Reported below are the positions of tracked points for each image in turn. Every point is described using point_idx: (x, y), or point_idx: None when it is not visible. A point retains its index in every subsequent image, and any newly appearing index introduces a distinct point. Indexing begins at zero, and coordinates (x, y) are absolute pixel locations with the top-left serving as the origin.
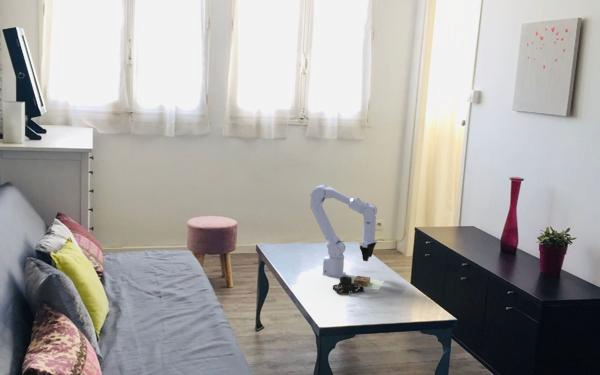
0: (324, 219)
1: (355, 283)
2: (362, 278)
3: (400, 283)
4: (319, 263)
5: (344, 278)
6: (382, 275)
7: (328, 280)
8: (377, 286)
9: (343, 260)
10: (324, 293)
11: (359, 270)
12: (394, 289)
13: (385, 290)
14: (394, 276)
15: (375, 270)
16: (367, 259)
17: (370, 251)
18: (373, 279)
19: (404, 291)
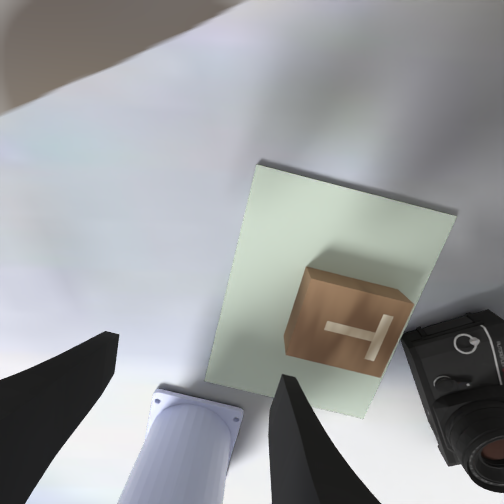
0: None
1: (421, 364)
2: (343, 329)
3: (272, 41)
4: None
5: (476, 459)
6: (117, 175)
7: None
8: (385, 222)
9: (175, 497)
10: None
11: (65, 315)
12: (420, 101)
13: (444, 170)
14: (111, 83)
15: (23, 219)
16: (303, 395)
17: (71, 391)
18: (239, 242)
19: (467, 17)
